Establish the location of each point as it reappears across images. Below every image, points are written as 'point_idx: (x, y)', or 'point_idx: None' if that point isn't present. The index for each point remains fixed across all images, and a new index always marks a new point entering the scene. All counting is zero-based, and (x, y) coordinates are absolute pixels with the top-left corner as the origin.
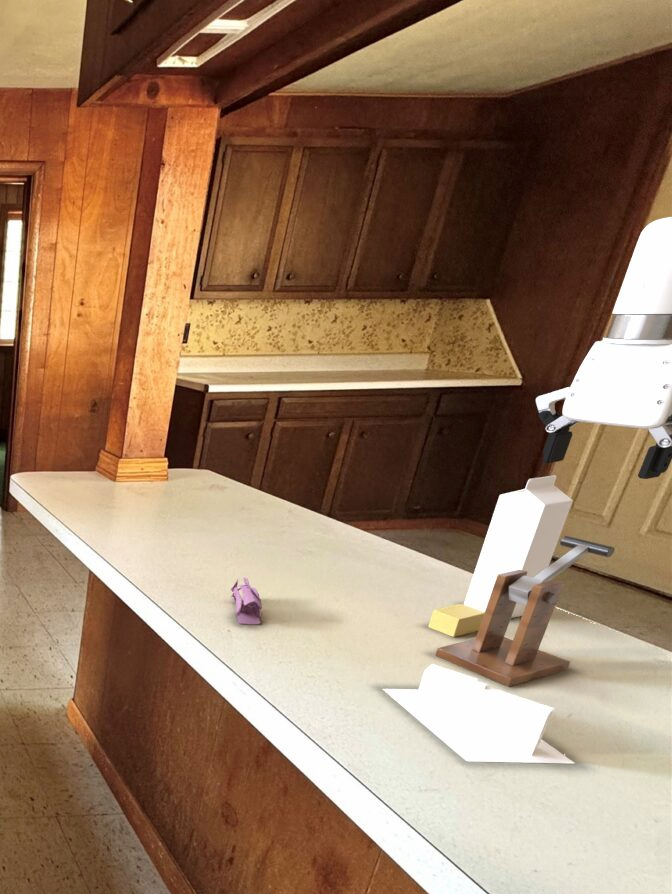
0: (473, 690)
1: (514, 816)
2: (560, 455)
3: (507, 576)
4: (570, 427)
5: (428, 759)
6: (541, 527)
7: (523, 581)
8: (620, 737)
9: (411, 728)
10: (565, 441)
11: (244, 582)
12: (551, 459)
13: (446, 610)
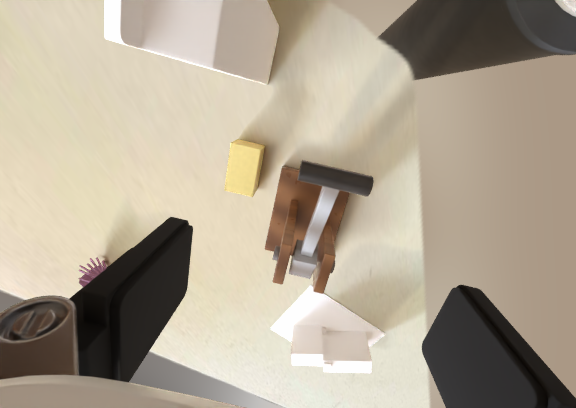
0: (326, 371)
1: (372, 398)
2: (180, 260)
3: (282, 281)
4: (77, 336)
5: (325, 382)
6: (234, 57)
7: (297, 267)
8: (402, 279)
9: None
10: (147, 301)
11: (87, 281)
12: (182, 293)
13: (232, 181)
